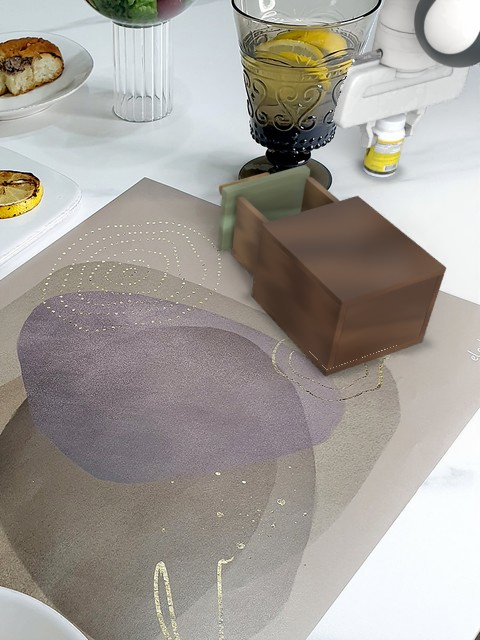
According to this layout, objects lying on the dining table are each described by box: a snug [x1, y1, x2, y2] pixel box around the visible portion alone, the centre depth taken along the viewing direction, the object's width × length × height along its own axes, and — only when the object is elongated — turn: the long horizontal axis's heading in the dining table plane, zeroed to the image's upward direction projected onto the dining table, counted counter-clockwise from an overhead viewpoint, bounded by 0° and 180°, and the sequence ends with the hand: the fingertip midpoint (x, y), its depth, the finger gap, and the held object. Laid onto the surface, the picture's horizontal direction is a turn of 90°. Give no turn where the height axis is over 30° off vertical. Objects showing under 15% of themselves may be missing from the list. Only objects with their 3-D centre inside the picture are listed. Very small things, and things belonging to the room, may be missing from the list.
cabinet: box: [251, 195, 447, 377], centre depth 98 cm, size 16×13×11 cm
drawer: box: [216, 164, 341, 278], centre depth 106 cm, size 19×12×9 cm, turn 23°
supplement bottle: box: [362, 113, 407, 178], centre depth 121 cm, size 5×5×8 cm
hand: (386, 140), depth 121 cm, fingers closed on supplement bottle, 5 cm apart
